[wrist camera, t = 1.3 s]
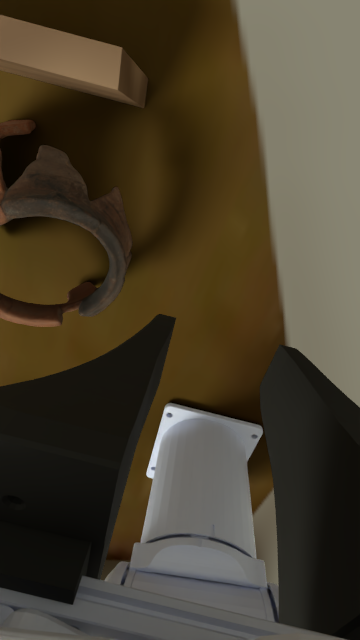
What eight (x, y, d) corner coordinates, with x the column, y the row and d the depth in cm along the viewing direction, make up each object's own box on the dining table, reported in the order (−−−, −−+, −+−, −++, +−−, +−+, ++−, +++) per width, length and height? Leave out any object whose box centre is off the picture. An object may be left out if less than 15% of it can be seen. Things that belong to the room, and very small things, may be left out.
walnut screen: (144, 108, 15) (117, 89, 11) (-74, 50, 15) (-181, 10, 11) (148, 78, 14) (122, 47, 10) (-79, 17, 14) (-194, -37, 10)
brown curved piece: (74, 73, 15) (87, 128, 10) (139, 228, 22) (167, 305, 17) (-145, 164, 15) (-244, 264, 10) (-8, 287, 23) (-25, 381, 17)
